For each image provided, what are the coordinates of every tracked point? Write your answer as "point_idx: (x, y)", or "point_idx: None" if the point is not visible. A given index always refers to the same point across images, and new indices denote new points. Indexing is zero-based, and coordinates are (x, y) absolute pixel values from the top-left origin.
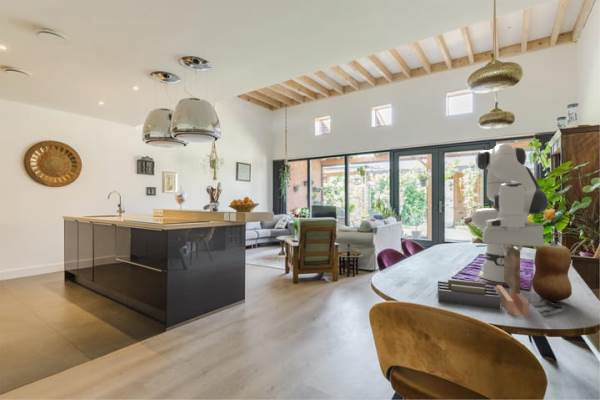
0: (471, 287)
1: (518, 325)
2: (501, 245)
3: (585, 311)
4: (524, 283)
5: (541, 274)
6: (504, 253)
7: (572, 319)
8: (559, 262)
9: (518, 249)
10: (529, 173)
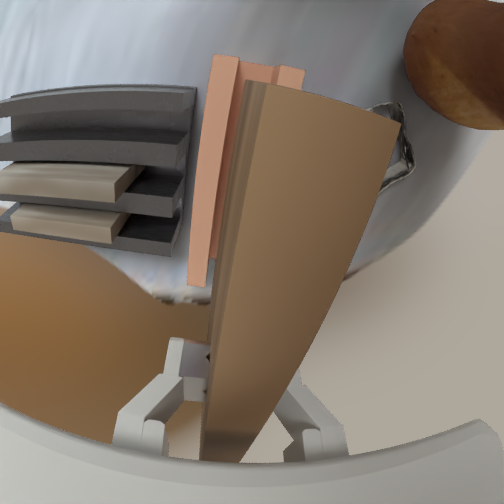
0: (67, 236)
1: (206, 291)
2: (117, 430)
3: (462, 152)
4: None
5: (474, 77)
6: (249, 99)
7: (384, 220)
8: None
9: (293, 428)
10: None
